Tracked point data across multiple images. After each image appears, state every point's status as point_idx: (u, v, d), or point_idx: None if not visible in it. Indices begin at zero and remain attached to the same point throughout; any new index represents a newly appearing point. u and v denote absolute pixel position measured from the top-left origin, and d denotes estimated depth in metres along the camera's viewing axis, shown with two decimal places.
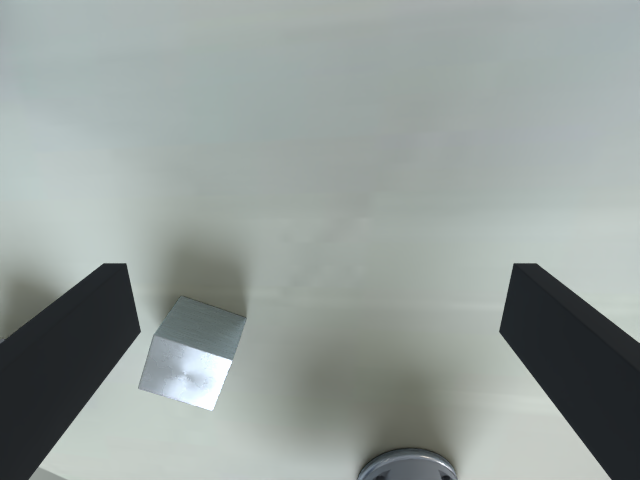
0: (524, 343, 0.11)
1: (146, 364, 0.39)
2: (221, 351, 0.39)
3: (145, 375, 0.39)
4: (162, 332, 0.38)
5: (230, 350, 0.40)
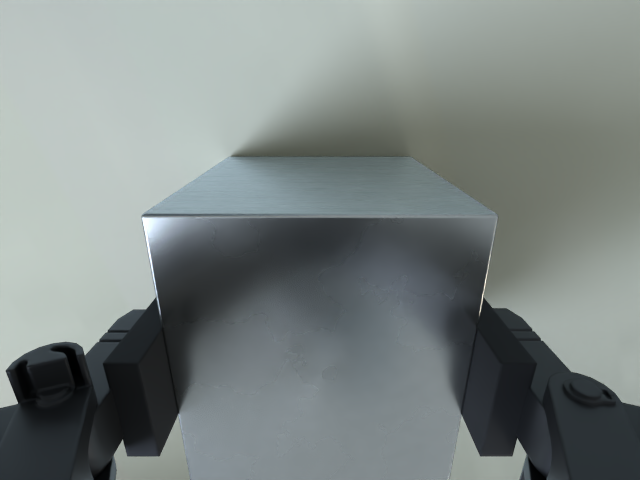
0: None
1: (310, 221, 0.08)
2: None
3: (244, 231, 0.08)
4: None
5: None
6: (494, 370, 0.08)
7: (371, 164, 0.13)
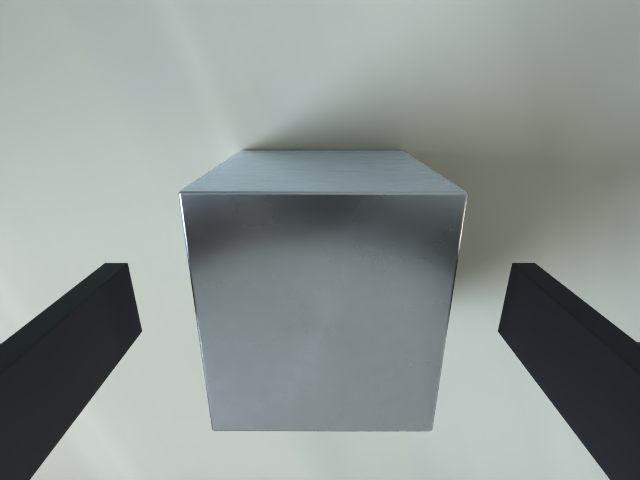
0: (523, 342, 0.12)
1: (315, 197, 0.10)
2: None
3: (261, 205, 0.10)
4: None
5: None
6: None
7: (367, 156, 0.15)
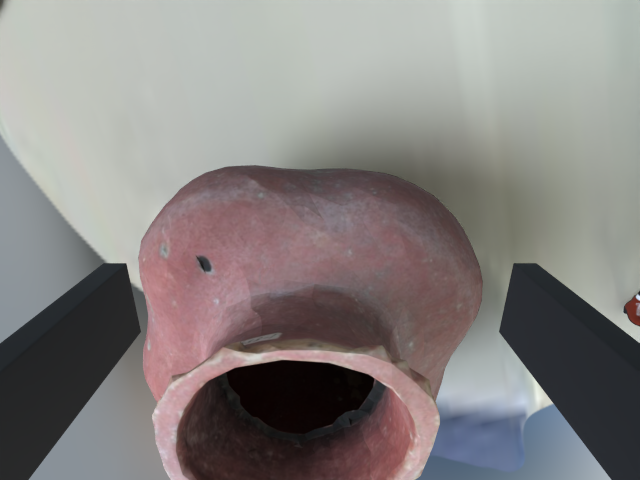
0: (524, 343, 0.11)
1: None
2: None
3: None
4: None
5: None
6: None
7: None
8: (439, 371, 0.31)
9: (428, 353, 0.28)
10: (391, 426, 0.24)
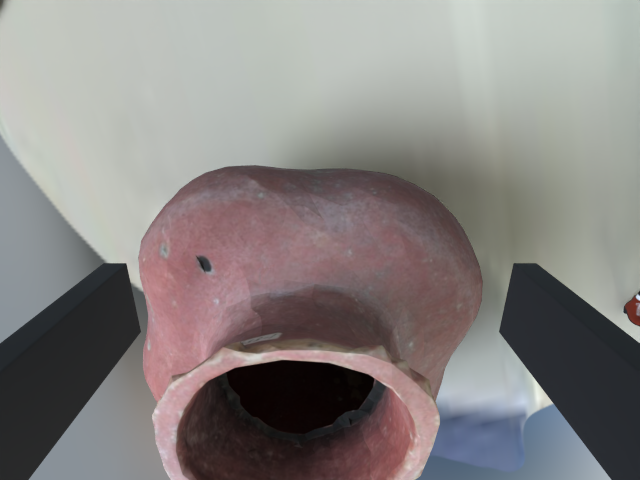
0: (524, 343, 0.11)
1: None
2: None
3: None
4: None
5: None
6: None
7: None
8: (439, 371, 0.31)
9: (428, 353, 0.28)
10: (391, 426, 0.24)
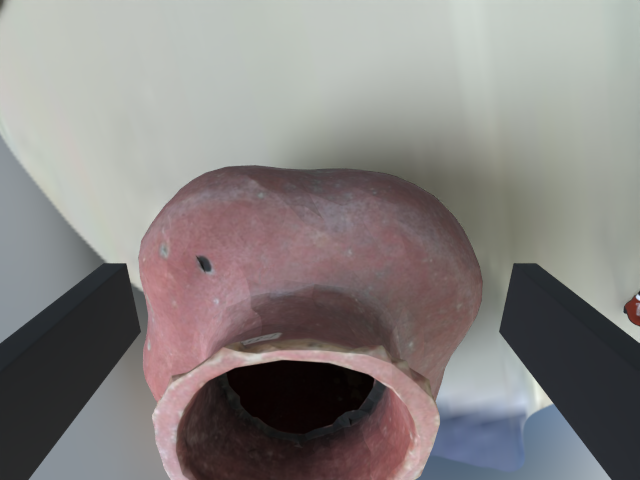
0: (524, 343, 0.11)
1: None
2: None
3: None
4: None
5: None
6: None
7: None
8: (439, 371, 0.31)
9: (428, 353, 0.28)
10: (391, 426, 0.24)
